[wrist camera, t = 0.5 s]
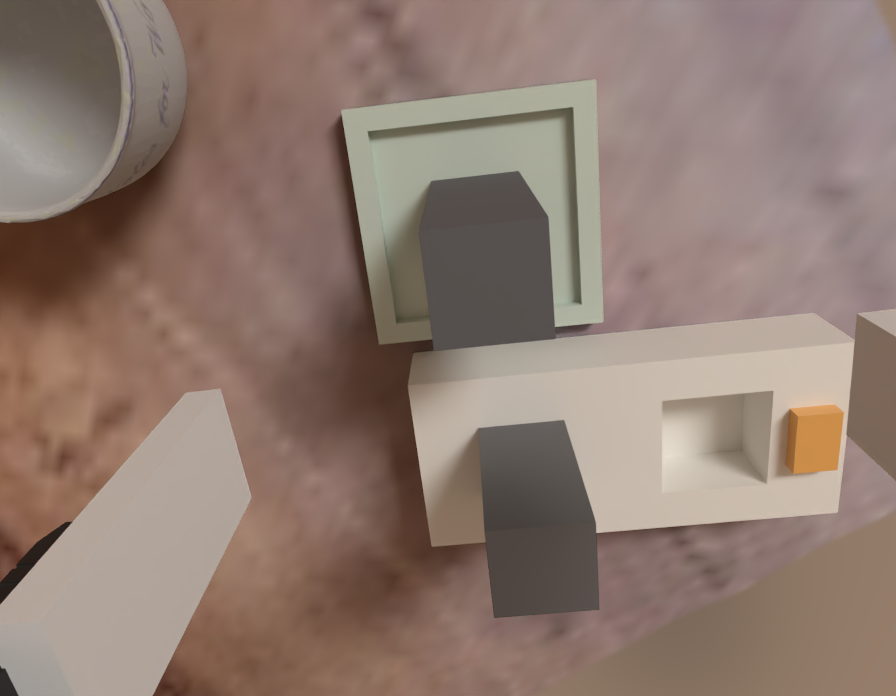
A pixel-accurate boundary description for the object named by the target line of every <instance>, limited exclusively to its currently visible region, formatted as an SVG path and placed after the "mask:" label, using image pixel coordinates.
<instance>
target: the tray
mask: <svg viewBox="0 0 896 696" xmlns="http://www.w3.org/2000/svg"><path fill="white" fill-rule="evenodd" d="M341 113H342V119H343V126H344V132H345V138H346V144H347V150H348V156H349V163H350V169H351V175H352V181H353V187H354V193H355V200H356V206H357V212H358V218H359V224H360V230H361V237H362V243H363V249H364V255H365V261H366V268H367V274H368V280H369V286H370V292H371V298H372V305H373V311H374V317H375V323H376V329H377V335H378V342H379V345H382V344H392V343H402V342H412V341H421V340H431V339H432V333H431V325H430V317H429V310H428V302H427V294H426V287H425V279H424V271H423V264H422V256H421V248H420V241H419V233H418V230H419V227H420V223H421V219H422V215H423V211H424V207H425V203H426V200H427V196H428V192H429V188H430V184H431V181H434V180H443V179H452V178H461V177H470V176H478V175H487V174H496V173H505V172H514V171H519V172H520V174H521V175H522V177H523V178H524V180H525V182H526V183H527V185H528V186H529V188H530V189H531V191H532V192H533V194H534V195H535V197H536V198H537V200H538V202H539V203H540V205H541V206H542V208H543V209H544V211H545V212H546V214H547V215H548V217H549V233H550V250H551V267H552V284H553V301H554V318H555V327H560V326H570V325H580V324H590V323H600V322H603V292H602V260H601V227H600V195H599V163H598V130H597V98H596V79H590V80H582V81H574V82H566V83H557V84H549V85H541V86H532V87H524V88H516V89H507V90H499V91H491V92H483V93H474V94H466V95H458V96H449V97H441V98H433V99H425V100H416V101H408V102H400V103H391V104H383V105H375V106H366V107H358V108H350V109H343V110H341Z"/></svg>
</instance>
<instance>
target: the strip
mask: <svg viewBox="0 0 896 696" xmlns="http://www.w3.org/2000/svg"><path fill="white" fill-rule="evenodd" d="M854 343H855V340H854V339H852V338H851V337H849V336H848V335H846V334H845V333H843V332H842V331H840V330H839V329H837V328H836V327H834V326H833V325H831V324H830V323H828V322H827V321H825V320H824V319H822V318H821V317H819V316H818V315H816V314H815V313H806V314H796V315H786V316H776V317H766V318H756V319H746V320H736V321H726V322H716V323H706V324H696V325H686V326H676V327H666V328H656V329H646V330H636V331H626V332H616V333H606V334H596V335H586V336H576V337H566V338H556V339H551V340H541V341H531V342H521V343H511V344H501V345H491V346H481V347H471V348H461V349H451V350H441V351H426V352H416V353H413V356H412V362H411V368H410V375H409V381H408V391H409V398H410V405H411V412H412V418H413V425H414V432H415V439H416V445H417V452H418V459H419V465H420V472H421V479H422V486H423V492H424V499H425V506H426V512H427V519H428V526H429V533H430V539H431V546H432V547H436V546H448V545H460V544H472V543H484V542H486V550H487V559H488V568H489V577H490V586H491V594H492V603H493V612H494V618H500V617H512V616H525V615H538V614H551V613H564V612H576V611H589V610H599V587H598V561H597V536H596V533H602V532H614V531H626V530H638V529H650V528H662V527H673V526H685V525H697V524H709V523H721V522H733V521H745V520H756V519H768V518H780V517H792V516H804V515H816V514H828V513H838V505H839V497H840V488H841V480H842V471H843V463H844V454H845V445H846V437H847V435H846V432H847V421H848V410H849V399H850V387H851V376H852V365H853V354H854Z"/></svg>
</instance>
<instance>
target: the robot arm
mask: <svg viewBox="0 0 896 696" xmlns="http://www.w3.org/2000/svg"><path fill="white" fill-rule="evenodd" d="M846 435H847V436H848V437H850V438H851V439H852V440H853V441H854V442H855V443H856V444H857V445H858V446H859V447H860V448H861V449H862V450H864V451H865V452H866V453H867V454H868V455H869V456H870V457H871V458H872V459H873V460H874V461H875V462H876V463H877V464H879V465H880V466H881V467H882V468H883V469H884V470H885V471H886V472H887V473H888V474H889V475H890V476H891V477H893V478H894V479H895V480H896V309H891V310H883V311H874V312H866V313H857V321H856V332H855V343H854V354H853V365H852V376H851V387H850V399H849V410H848V421H847V432H846ZM251 498H252V497H251V494H250V490H249V487H248V483H247V480H246V476H245V473H244V469H243V466H242V462H241V459H240V455H239V452H238V448H237V445H236V441H235V438H234V434H233V431H232V427H231V424H230V420H229V417H228V413H227V410H226V406H225V403H224V400H223V396H222V393H221V389H215V390H206V391H198V392H189V393H185V394H184V395H183V397H182V398H181V399H180V400H179V401H178V402H177V403H176V405H175V406H174V407H173V408H172V409H171V410H170V411H169V413H168V414H167V415H166V416H165V417H164V418H163V419H162V421H161V422H160V423H159V424H158V425H157V426H156V427H155V429H154V430H153V431H152V432H151V433H150V434H149V435H148V437H147V438H146V439H145V440H144V441H143V442H142V443H141V445H140V446H139V447H138V448H137V449H136V450H135V451H134V453H133V454H132V455H131V456H130V457H129V458H128V459H127V461H126V462H125V463H124V464H123V465H122V466H121V467H120V469H119V470H118V471H117V472H116V473H115V474H114V475H113V477H112V478H111V479H110V480H109V481H108V482H107V483H106V484H105V486H104V487H103V488H102V489H101V490H100V491H99V492H98V494H97V495H96V496H95V497H94V498H93V499H92V500H91V502H90V503H89V504H88V505H87V506H86V507H85V508H84V510H83V511H82V512H81V513H80V514H79V515H78V516H77V518H76V519H75V520H74V521H73V522H65V523H64V524H62V525H61V526H60V527H58V528H57V529H55V530H54V531H52V532H51V533H50V534H48V535H47V536H45V537H44V538H43V539H41V540H40V541H38V542H37V543H36V544H35V545H34V546H33V547H32V548H31V549H30V550H29V552H28V553H27V554H26V555H25V556H24V557H23V558H22V559H21V560H20V561H19V562H18V564H17V568H16V569H12V570H11V571H10V572H9V573H8V575H7V576H6V577H5V578H4V579H3V580H2V581H1V582H0V696H153V694H154V692H155V690H156V688H157V686H158V684H159V682H160V680H161V678H162V676H163V674H164V672H165V670H166V668H167V666H168V664H169V662H170V660H171V658H172V656H173V654H174V652H175V650H176V648H177V646H178V644H179V642H180V640H181V638H182V636H183V634H184V632H185V630H186V628H187V626H188V624H189V622H190V620H191V618H192V616H193V614H194V612H195V610H196V608H197V606H198V604H199V602H200V600H201V598H202V596H203V594H204V592H205V590H206V588H207V586H208V584H209V582H210V580H211V578H212V576H213V574H214V572H215V570H216V568H217V566H218V564H219V562H220V560H221V558H222V556H223V554H224V552H225V550H226V548H227V546H228V544H229V542H230V540H231V538H232V536H233V534H234V532H235V530H236V528H237V526H238V524H239V522H240V520H241V518H242V516H243V514H244V512H245V510H246V508H247V506H248V504H249V502H250V500H251Z"/></svg>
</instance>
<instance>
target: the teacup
mask: <svg viewBox="0 0 896 696" xmlns="http://www.w3.org/2000/svg"><path fill="white" fill-rule="evenodd" d="M187 86H188V84H187V68H186V61H185V56H184V51H183V47H182V43H181V40H180V37H179V34H178V32H177V29H176V26H175V23H174V21H173V19H172V17H171V15H170V13H169V11H168V9H167V7H166V5H165V4H164V2H163V1H162V0H0V222H3V223H24V222H34V221H41V220H46V219H51V218H54V217H57V216H60V215H63V214H65V213H67V212H70V211H72V210H74V209H75V208H77V207H79V206H80V205H82V204H84V203H86V202H89V201H92V200H95V199H97V198H100V197H103V196H106V195H108V194H110V193H112V192H115V191H117V190H119V189H121V188H123V187H126V186H127V185H129V184H131V183H133V182H135V181H136V180H138V179H139V178H141V177H142V176H143V175H145V174H146V173H147V172H148V171H150V170H151V169H152V168H153V167H154V166H155V165H156V164H157V163H158V162H159V161H160V160H161V159H162V157H163V156H164V155H165V154H166V152H167V151H168V149H169V148H170V146H171V145H172V143H173V142H174V139H175V137H176V135H177V133H178V131H179V128H180V126H181V123H182V120H183V116H184V112H185V107H186V100H187Z"/></svg>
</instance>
